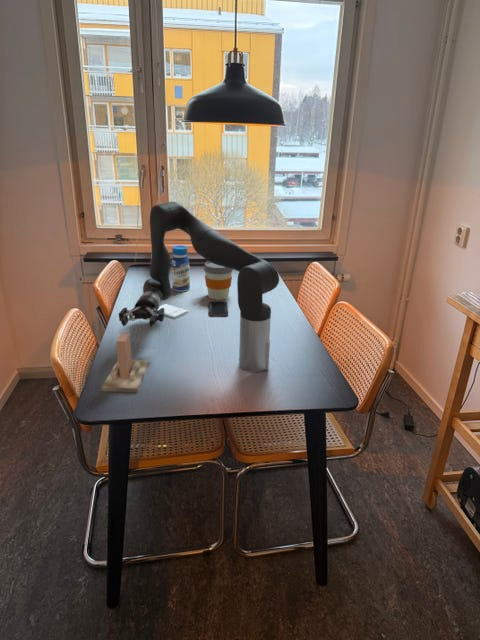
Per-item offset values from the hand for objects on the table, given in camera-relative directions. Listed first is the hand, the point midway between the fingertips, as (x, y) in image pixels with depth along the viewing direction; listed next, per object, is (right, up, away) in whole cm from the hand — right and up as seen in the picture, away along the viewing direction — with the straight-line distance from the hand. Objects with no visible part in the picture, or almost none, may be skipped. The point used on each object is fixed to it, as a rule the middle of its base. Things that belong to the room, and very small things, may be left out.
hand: (137, 323), depth 133 cm
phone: (+23, +5, +44) cm, 50 cm away
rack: (-2, -16, -6) cm, 17 cm away
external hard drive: (+4, +4, +41) cm, 41 cm away
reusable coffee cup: (+22, +12, +59) cm, 64 cm away
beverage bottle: (+5, +15, +66) cm, 68 cm away
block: (-2, -15, -7) cm, 16 cm away
